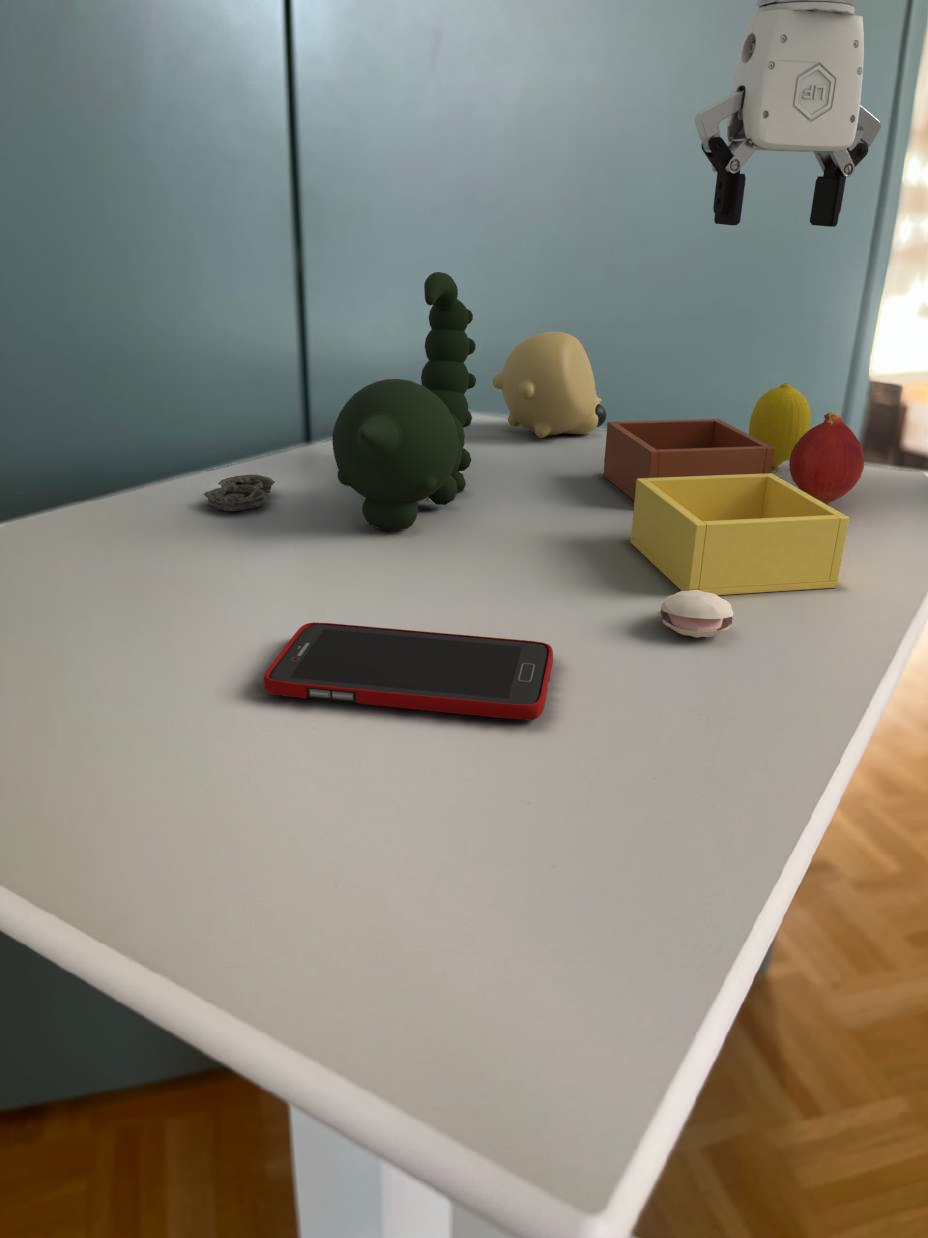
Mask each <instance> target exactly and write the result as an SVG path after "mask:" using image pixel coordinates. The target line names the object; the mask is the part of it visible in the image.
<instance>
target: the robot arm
mask: <svg viewBox="0 0 928 1238" xmlns="http://www.w3.org/2000/svg"><path fill="white" fill-rule="evenodd" d="M856 5H857V0H757V3H756V6H757V12H755V13H752V14H751V15H750V18H749V21H748V24H747V27H746V30H745V33H744V37H743V40H742V43H741V47H740V51H739V55H738V59H737V63H736V68H735V72H734V78H733V82H732V87H731V94H729V95H728V96H726V97H724V98H722V99H720V100H719V101H717V102H715V103H713V104H711V105H710V106H708V107H706V108H704V109H703V110H701V111H699V112H698V113H696V115H695V116H694V123H695V127H696V130H697V134H698V138H699V140H700V141H701V145H700V147H701V151H703V154H704V155H705V156H706V158H707V160H708V161H709V162H710V163H711V170H712V172H713V173H715V174H716V180H715V189H714V197H713V199H714V200H713V207H712V209H713V213H714V218H713V221H714V224H715V225H716V224H717V225H725V226H737V225H740V223H741V220H742V219H741V218H742V211H743V203H744V195H745V189H746V188H745V187H746V180H747V178H746V173H741V170H742V168H743V167H744V166H745V165H746V163H747V162H748V161H749V159H750V158H751V157H752V156H753V154H754V153H755V152H756V151H769V152H770V151H772V152H773V151H774V152H799V153H802V152H805V153H806V152H807V153H808V152H813V154H814V157H815V158H816V161H817V162H818V165H819V167H820V169H821V171H822V173H823V174H822V175H818V176H817V178H816V179H815V182H814V183H815V185H814V190H813V196H812V202H811V208H810V216H809V224H810V225H812V226H819V227H828V228H829V227H830V228H833V227H837V226H838V223H839V217H840V213H841V210H842V205H843V200H844V192H845V187H846V180H847V178H849V177H851V176H852V175H853V174H854V172H855V169H856V167H857V166H858V165H859V164H860V163H861V162H862V161H863V160H864V158H866V156H867V155H868V153H869V147H871V146H872V144H873V142H874V141H875V139H876V137H877V136H878V134H879V132H880V130H881V128H882V123H881V121H880V119H878V118H877V117H875V115H873V114H872V113H871V112H869V111H868V109H866V108H865V107H864V106H862V105H861V99H862V91H863V88H862V87H863V81H864V80H863V79H864V65H865V64H864V63H865V31H864V29H865V28H864V16H863V15H856V14H855V10H856ZM725 119H727V124H726V125H727V126H726V138H727V141H728V142H727V143H726V141H725V140H724V139H723V137H721V134H720V133H721V131H720V124H721V122H723V120H725Z"/></svg>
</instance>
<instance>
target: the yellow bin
mask: <svg viewBox="0 0 928 1238" xmlns="http://www.w3.org/2000/svg"><path fill="white" fill-rule="evenodd" d="M633 502H634V501H633ZM633 505H634V506H633V513H632V515H633V516H632V522H631V523H632V525H631V535H630V536H631V537H630V544H631V545H632V546H634V547H635V548H636V549H637V550H638V551H639V552H640V553H641V554H642V555H643V556H644V557H645V558H647V560H648V561H649V562H650V563H651V564H652V565H654V566H655V567H656V568H657V569H658V570H659V571H660V572H661V573H662V574H663V575H664V576H665V577H666V578H667V579H668V580H669V581H670V582H672V584H674V585H675V587H676V588H678V589H679V590H680V591H692V590H699V591H703V592H708V593H713V594H716V595H717V596H724V595H725V596H726V595H739V594H740V595H742V594H743V595H744V594H757V593H758V594H759V593H773V592H774V593H775V592H789V591H805V590H823V589H835V588H838V583H839V577H840V570H841V566H842V560H843V554H844V550H845V544H846V538H847V532H848V528H849V522H850V517H849V516H848V515H845V514H844V513H842V512H840V511H838V510H837V509H835V508H833V507H832V506H830V505H828V504H827V505H826V504H824V503H823V502H821V501H819V500H817V499H816V498H814V497H812V496H810V495H809V494H807V493H805V492H803V491H802V490H800V489H799V488H798V487H796V486H795V485H793V484H791V483H789V482H788V481H786V480H784V479H783V478H780V477H779V476H777V475H776V474H773V473H772V472H771V473H768V474H740V475H714V476H688V477H662V478H646V479H645V478H639V479H637V480H636V491H635V502H634V503H633Z"/></svg>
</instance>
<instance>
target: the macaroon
mask: <svg viewBox="0 0 928 1238" xmlns="http://www.w3.org/2000/svg"><path fill="white" fill-rule="evenodd" d="M659 614H660V617H661V619H662V623H663V625H665V626H666V627H668V628H670V629H671V630H673V631H674V632H676V633H677V634H680V635H682V636H689V637H693V638H696V639H697V638H702V637H704V638H711V637H714V636H716V635H718V634H719V635H720V634H721V633H723V632H726V631H727V630H729V629H730V627H731V626H732V624H733V620H734V618H733V617H734V611H733V608H732V605H731V603H730V602H729V601H728V600H726V599H723V598H721V596H720V595H716V594H713V593H708V592H703V591H699V590H692V591H681V590H680V591H678V592H676V593H674V594H670V595H667V596H666V597H665V599H664V600H663V602H662V603H661V605H660V612H659Z"/></svg>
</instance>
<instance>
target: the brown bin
mask: <svg viewBox="0 0 928 1238" xmlns="http://www.w3.org/2000/svg"><path fill="white" fill-rule="evenodd" d="M606 423H607V424H606V438H605V447H604V460H603V461H604V462H603V477H604V478H605V479H607V480H608V481H609V482H610V483H611V484H613V485H614V486H615V487H616V488H617V489H619V490H620V491H621V492H622V493H624V494H625V495H626V496H627V497H628V498H630V499H631V500H632V501H633V502H635V491H636V480H637V479H639V478H645V479H646V478H662V477H688V476H714V475H740V474H768V473H772V468H773V467H772V461H773V454H774V447H772V446H770V445H768V444H766V443H764V442H762V441H760V440H758V439H756V438H754V437H752V436H750V435H749V433H747V432H745V431H742V430H741V429H739V428H737V427H735V426H733V425H731V424H729V423H727V422H725V421H724V420H721V419H719V418H704V419H703V418H701V419H699V418H698V419H665V420H628V421H627V420H626V421H607V422H606Z"/></svg>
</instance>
